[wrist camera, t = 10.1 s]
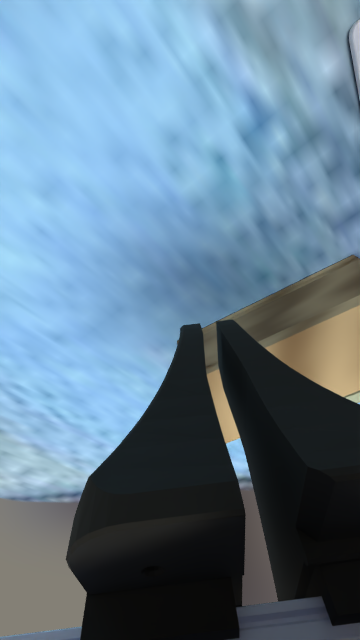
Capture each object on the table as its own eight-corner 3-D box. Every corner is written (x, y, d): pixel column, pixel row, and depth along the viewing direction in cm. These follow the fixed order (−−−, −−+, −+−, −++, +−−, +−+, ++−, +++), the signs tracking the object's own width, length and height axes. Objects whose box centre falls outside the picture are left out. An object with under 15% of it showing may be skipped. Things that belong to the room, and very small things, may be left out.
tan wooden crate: (353, 254, 21) (403, 285, 17) (370, 327, 24) (416, 367, 20) (177, 340, 24) (181, 385, 19) (214, 395, 27) (225, 443, 23)
